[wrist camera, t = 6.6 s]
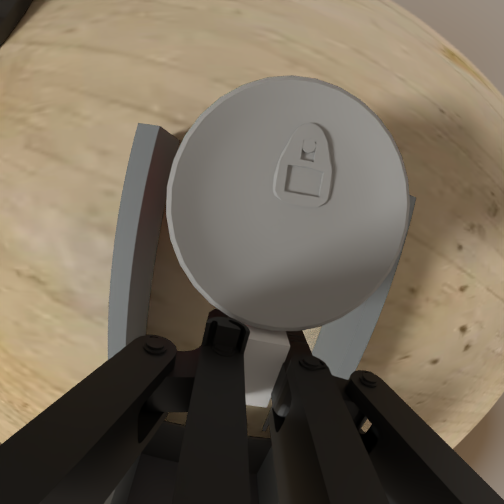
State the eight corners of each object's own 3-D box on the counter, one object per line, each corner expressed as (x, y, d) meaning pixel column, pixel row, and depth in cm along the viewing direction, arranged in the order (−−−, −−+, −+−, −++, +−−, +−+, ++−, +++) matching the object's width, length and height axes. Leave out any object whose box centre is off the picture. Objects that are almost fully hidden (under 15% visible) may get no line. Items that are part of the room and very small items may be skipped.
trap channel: (163, 137, 18) (21, 60, 4) (378, 193, 19) (550, 221, 5) (131, 453, 24) (102, 551, 10) (263, 477, 26) (273, 577, 12)
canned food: (314, 131, 18) (395, 77, 7) (326, 247, 20) (410, 311, 9) (199, 143, 18) (149, 90, 7) (215, 261, 20) (189, 347, 9)
